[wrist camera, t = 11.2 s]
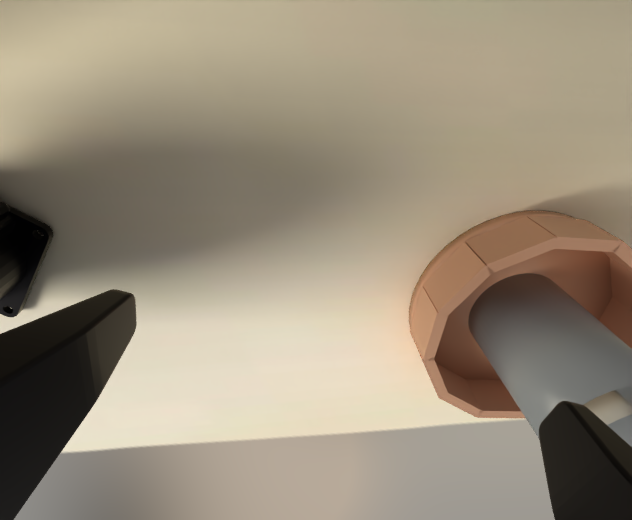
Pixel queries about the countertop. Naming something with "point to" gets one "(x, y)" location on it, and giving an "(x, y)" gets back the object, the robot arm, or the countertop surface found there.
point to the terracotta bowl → (499, 263)
